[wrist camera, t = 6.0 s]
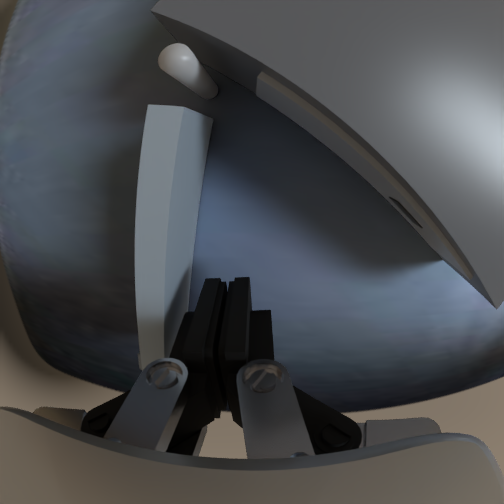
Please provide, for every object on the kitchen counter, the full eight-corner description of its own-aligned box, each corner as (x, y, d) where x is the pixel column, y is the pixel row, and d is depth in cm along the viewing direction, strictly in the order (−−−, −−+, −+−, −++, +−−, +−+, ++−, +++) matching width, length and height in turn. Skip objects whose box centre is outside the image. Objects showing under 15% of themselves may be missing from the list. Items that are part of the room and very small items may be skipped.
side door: (186, 333, 14) (167, 404, 10) (158, 327, 14) (131, 395, 10) (213, 118, 10) (184, 106, 5) (175, 115, 10) (123, 103, 5)
